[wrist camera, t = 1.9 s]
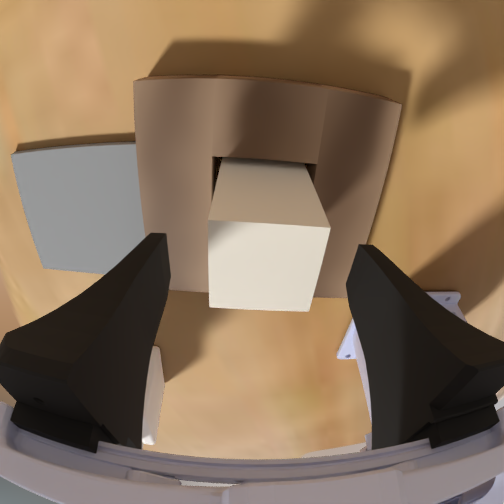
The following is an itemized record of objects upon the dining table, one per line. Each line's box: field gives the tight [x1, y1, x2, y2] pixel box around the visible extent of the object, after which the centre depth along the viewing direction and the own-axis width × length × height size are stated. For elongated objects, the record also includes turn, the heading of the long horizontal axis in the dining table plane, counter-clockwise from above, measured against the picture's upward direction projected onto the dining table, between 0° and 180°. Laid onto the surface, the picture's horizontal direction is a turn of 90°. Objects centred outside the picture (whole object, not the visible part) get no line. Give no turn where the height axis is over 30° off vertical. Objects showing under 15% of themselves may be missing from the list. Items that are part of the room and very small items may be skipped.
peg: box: [208, 157, 331, 311], centre depth 14 cm, size 4×4×7 cm
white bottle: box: [142, 346, 165, 450], centre depth 22 cm, size 7×7×12 cm
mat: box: [11, 141, 145, 274], centre depth 17 cm, size 9×9×1 cm
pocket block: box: [133, 75, 402, 298], centre depth 16 cm, size 12×12×2 cm
